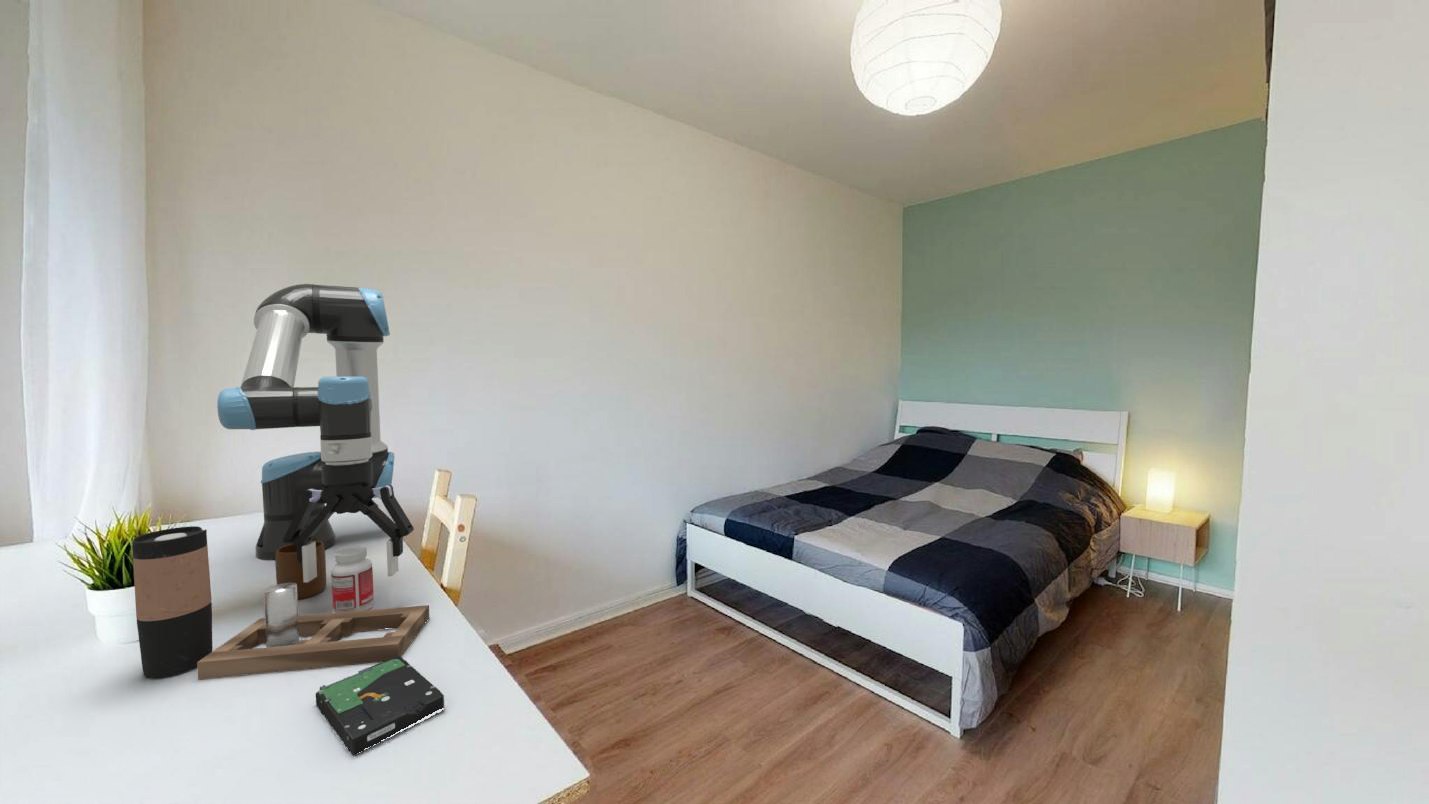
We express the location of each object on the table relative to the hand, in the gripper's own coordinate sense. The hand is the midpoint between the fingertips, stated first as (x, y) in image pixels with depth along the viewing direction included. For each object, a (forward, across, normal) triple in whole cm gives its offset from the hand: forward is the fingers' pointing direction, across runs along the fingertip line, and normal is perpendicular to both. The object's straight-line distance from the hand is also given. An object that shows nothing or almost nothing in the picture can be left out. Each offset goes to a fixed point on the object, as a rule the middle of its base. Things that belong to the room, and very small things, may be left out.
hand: (352, 576), depth 93 cm
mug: (+6, -12, +8) cm, 16 cm away
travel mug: (+7, -17, -14) cm, 23 cm away
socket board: (+7, +2, -13) cm, 14 cm away
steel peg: (+7, -4, -13) cm, 15 cm away
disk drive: (+8, +17, -30) cm, 36 cm away
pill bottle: (+7, 0, 0) cm, 7 cm away
